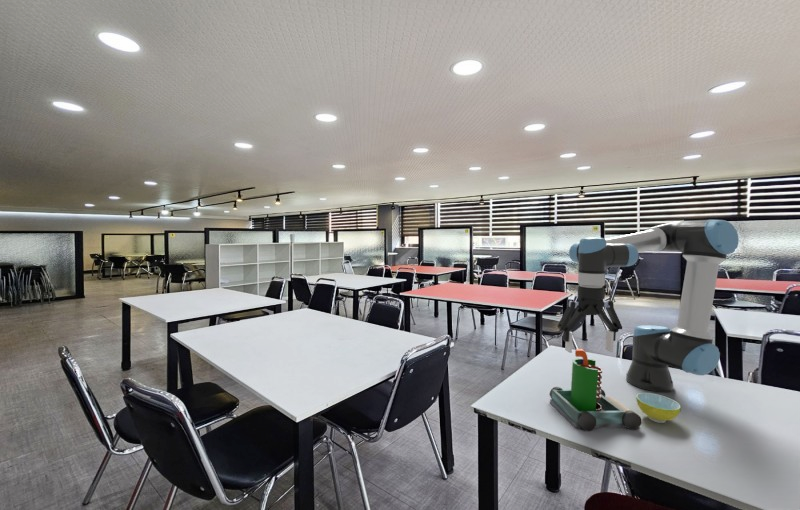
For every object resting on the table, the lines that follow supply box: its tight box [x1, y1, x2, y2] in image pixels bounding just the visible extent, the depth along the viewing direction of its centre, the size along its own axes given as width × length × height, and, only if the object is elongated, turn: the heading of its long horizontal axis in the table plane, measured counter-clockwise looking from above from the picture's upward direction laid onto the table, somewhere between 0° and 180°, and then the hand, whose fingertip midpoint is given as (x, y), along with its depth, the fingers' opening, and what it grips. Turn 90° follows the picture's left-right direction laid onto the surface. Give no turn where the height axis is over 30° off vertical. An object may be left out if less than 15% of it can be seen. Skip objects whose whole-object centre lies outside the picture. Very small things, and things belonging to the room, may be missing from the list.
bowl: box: [635, 392, 681, 424], centre depth 111 cm, size 11×12×6 cm
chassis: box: [549, 386, 642, 432], centre depth 114 cm, size 20×19×5 cm
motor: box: [570, 348, 603, 411], centre depth 113 cm, size 10×9×20 cm
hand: (588, 351), depth 113 cm, fingers open, 13 cm apart
